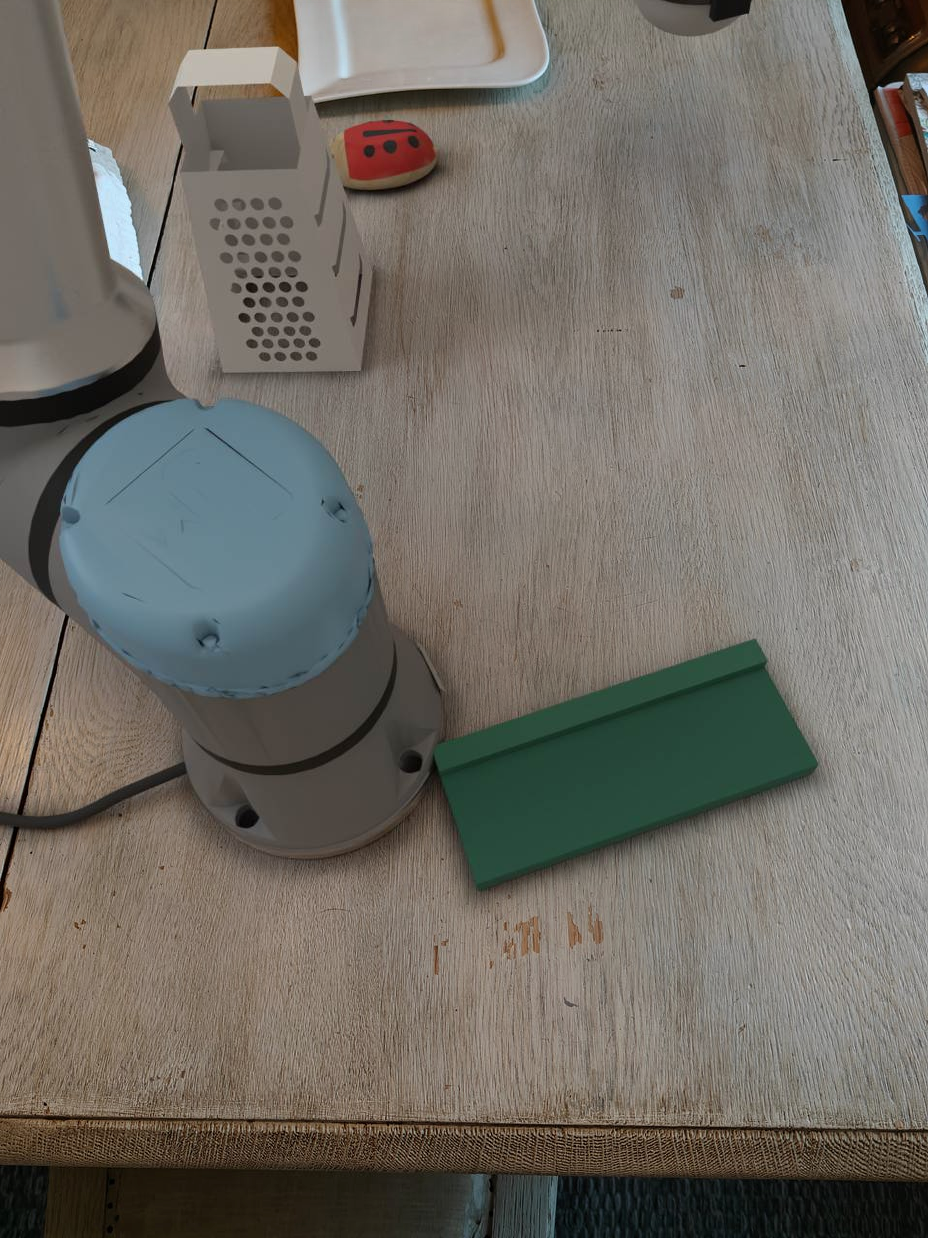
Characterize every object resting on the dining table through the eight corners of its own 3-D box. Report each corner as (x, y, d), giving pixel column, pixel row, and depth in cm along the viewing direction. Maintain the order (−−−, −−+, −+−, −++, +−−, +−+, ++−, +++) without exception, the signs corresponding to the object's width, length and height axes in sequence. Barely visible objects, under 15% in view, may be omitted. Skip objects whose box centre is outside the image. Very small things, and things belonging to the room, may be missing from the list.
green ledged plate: (478, 891, 52) (476, 881, 50) (434, 760, 56) (430, 746, 54) (812, 773, 54) (823, 759, 52) (747, 655, 58) (755, 637, 56)
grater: (360, 370, 71) (304, 117, 54) (222, 372, 72) (123, 124, 55) (372, 272, 76) (325, 12, 59) (244, 275, 77) (159, 19, 60)
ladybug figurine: (325, 153, 84) (317, 115, 81) (436, 138, 84) (433, 99, 81) (329, 202, 81) (321, 164, 78) (444, 187, 81) (441, 149, 78)
